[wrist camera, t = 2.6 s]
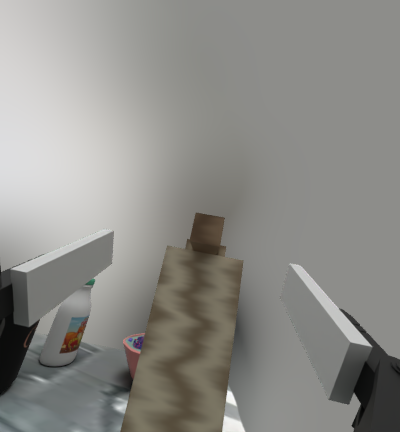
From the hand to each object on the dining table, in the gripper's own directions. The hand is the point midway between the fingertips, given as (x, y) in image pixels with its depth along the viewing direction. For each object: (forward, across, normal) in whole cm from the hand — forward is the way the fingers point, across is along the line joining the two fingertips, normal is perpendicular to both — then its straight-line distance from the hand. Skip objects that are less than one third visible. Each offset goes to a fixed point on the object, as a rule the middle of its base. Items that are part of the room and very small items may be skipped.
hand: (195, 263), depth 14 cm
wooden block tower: (+4, 0, -34) cm, 34 cm away
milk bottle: (+22, -32, -44) cm, 59 cm away
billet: (+16, 0, -6) cm, 17 cm away
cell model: (+24, -7, -45) cm, 52 cm away
